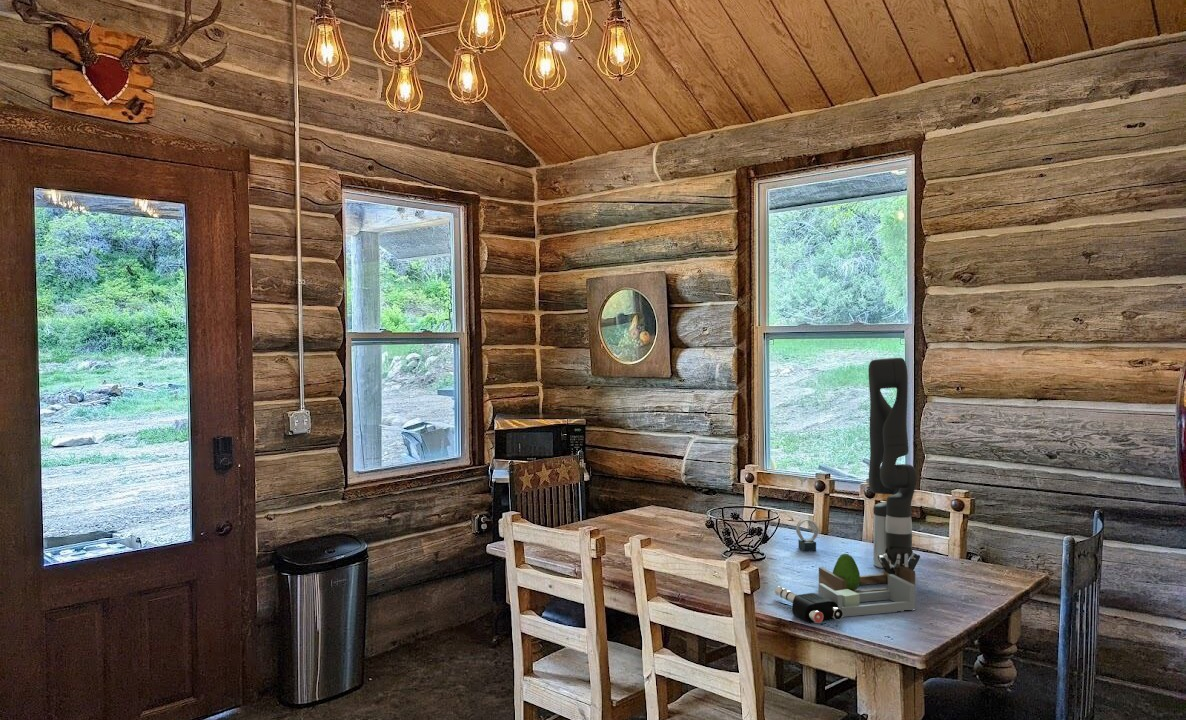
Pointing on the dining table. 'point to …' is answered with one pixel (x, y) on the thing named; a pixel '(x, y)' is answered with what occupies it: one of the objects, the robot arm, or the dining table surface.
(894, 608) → the grey open rectangular frame
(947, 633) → the dining table surface
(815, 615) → the audio adapter
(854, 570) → the avocado
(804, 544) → the silver ring on block
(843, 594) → the sage block
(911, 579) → the frame
